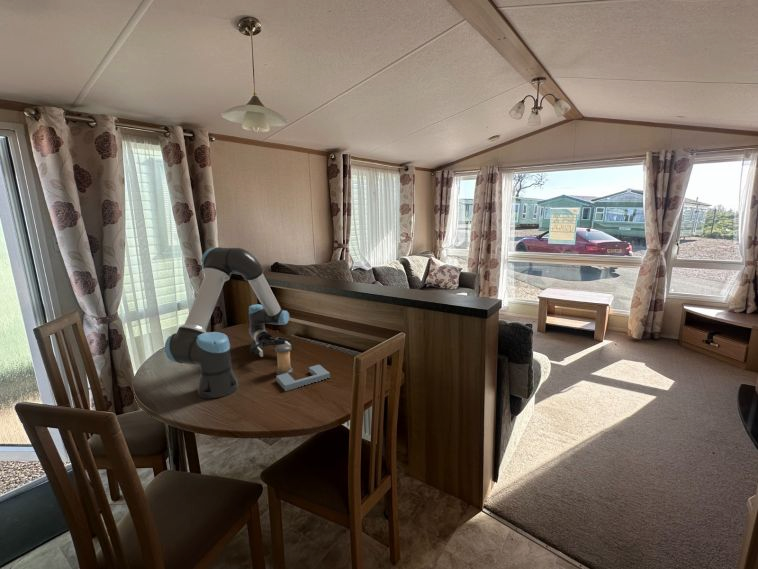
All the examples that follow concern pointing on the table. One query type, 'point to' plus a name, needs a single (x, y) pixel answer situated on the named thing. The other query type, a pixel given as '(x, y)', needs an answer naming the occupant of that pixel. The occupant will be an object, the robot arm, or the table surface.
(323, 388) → the table surface
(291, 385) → the notched board
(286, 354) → the bobbin
